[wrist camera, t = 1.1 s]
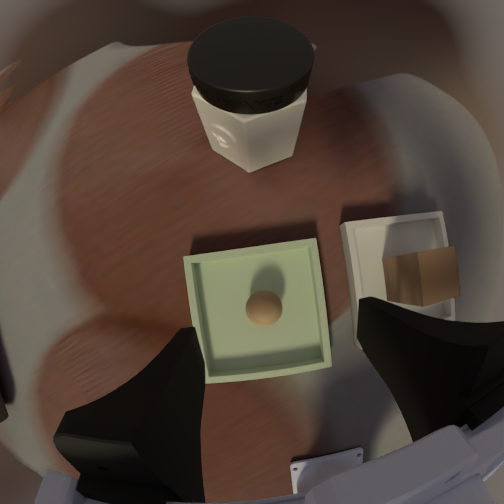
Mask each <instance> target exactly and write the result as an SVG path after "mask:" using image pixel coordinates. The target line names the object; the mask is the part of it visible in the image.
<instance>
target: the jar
mask: <svg viewBox="0 0 504 504" xmlns="http://www.w3.org/2000/svg"><path fill="white" fill-rule="evenodd" d="M313 61H314V51H313V47H312V45H311V43H310V41H309V40H308V38H307V37H306V36H305V35H304V34H303V33H302V32H300V31H299V30H298V29H296V28H295V27H293V26H291V25H290V24H287V23H285V22H282V21H279V20H276V19H272V18H265V17H239V18H234V19H229V20H226V21H222V22H220V23H217V24H215V25H213V26H211V27H209V28H208V29H206V30H205V31H203V32H202V33H201V34H200V35H199V36H198V37H197V38H196V39H195V40H194V41H193V43H192V44H191V46H190V48H189V51H188V56H187V62H188V66H189V73H190V76H191V79H192V81H193V84H194V87H193V90H192V97H193V100H194V102H195V105H196V108H197V110H198V113H199V116H200V118H201V121H202V124H203V126H204V129H205V132H206V134H207V137H208V140H209V142H210V145H211V148H212V149H213V150H214V151H216V152H217V153H219V154H220V155H222V156H224V157H225V158H227V159H228V160H230V161H231V162H233V163H235V164H236V165H238V166H239V167H241V168H242V169H244V170H245V171H247V172H249V173H250V172H253V171H255V170H258V169H260V168H263V167H265V166H268V165H270V164H273V163H275V162H278V161H281V160H283V159H286V158H288V157H291V156H292V155H293V153H294V149H295V145H296V141H297V137H298V133H299V129H300V125H301V121H302V117H303V114H304V110H305V106H306V102H307V86H308V83H309V79H310V75H311V70H312V65H313Z"/></svg>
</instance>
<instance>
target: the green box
mask: <svg viewBox="0 0 504 504" xmlns="http://www.w3.org/2000/svg"><path fill="white" fill-rule="evenodd" d="M183 258H184V267H185V275H186V282H187V290H188V297H189V304H190V311H191V317H192V324H193V327H195V329H196V332H197V336H198V340H199V344H200V347H201V351H202V355H203V358H204V362H205V384H206V383H221V382H233V381H244V380H253V379H261V378H269V377H276V376H283V375H290V374H296V373H302V372H307V371H313V370H318V369H323V368H328V367H332V363H331V351H330V341H329V331H328V321H327V312H326V304H325V296H324V288H323V281H322V274H321V267H320V260H319V253H318V247H317V241H316V238H311V239H304V240H297V241H290V242H283V243H276V244H269V245H261V246H254V247H247V248H240V249H233V250H226V251H219V252H212V253H205V254H198V255H191V256H185V257H183ZM260 290H268V291H271V292H273V293H275V294H276V295H277V296H278V297H279V298H280V300H281V302H282V308H283V309H282V314H281V317H280V318H279V320H278V321H277V322H276V323H274V324H273V325H270V326H266V327H262V326H258V325H255V324H254V323H252V322H251V321H250V320H249V318H248V317H247V314H246V303H247V300H248V298H249V297H250V296H251V295H252V294H253V293H255V292H257V291H260Z"/></svg>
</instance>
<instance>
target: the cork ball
mask: <svg viewBox="0 0 504 504" xmlns="http://www.w3.org/2000/svg"><path fill="white" fill-rule="evenodd" d="M282 309H283V308H282V302H281V300H280V298H279V297H278V296H277V295H276V294H275V293H273V292H271V291H268V290H260V291H257V292H255V293H253V294H252V295H251V296H250V297H249V298H248V300H247V303H246V314H247V317H248V318H249V320H250V321H251V322H252V323H254V324H255V325H258V326H262V327H266V326H270V325H273V324H274V323H276V322H277V321H278V320H279V318H280V317H281V314H282Z"/></svg>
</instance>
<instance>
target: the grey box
mask: <svg viewBox="0 0 504 504" xmlns="http://www.w3.org/2000/svg"><path fill="white" fill-rule="evenodd" d="M339 227H340V232H341V238H342V244H343V250H344V257H345V263H346V270H347V277H348V285H349V293H350V302H351V311H352V321H353V332H354V344H355V346H357V347H358V348H360V349H362V347H361V345H360V343H359V341H358V339H357V337H356V336H357V322H358V305H359V299H361V298H365V297H370V296H371V297H375V298H379V299H381V300H384V301H387V296H386V287H385V278H384V271H383V263H382V259H383V258H388V257H394V256H399V255H405V254H410V253H416V252H422V251H427V250H433V249H438V248H444V247H449V244H448V238H447V233H446V227H445V222H444V217H443V212H442V211H436V212H427V213H418V214H409V215H400V216H392V217H383V218H375V219H366V220H358V221H350V222H344V223H343V224H341V225H340V226H339ZM387 302H390V303H392V304H395V305H398V306H400V307H403V308H406V309H409V310H412V311H415V312H418V313H421V314H424V315H428V316H431V317H436V318H440V319H445V320H451V321H455V299H454V298H451V299H448V300H445V301H442V302H439V303H435V304H432V305H429V306H425V307H420V306H414V305H408V304H402V303H396V302H391V301H387Z"/></svg>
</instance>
